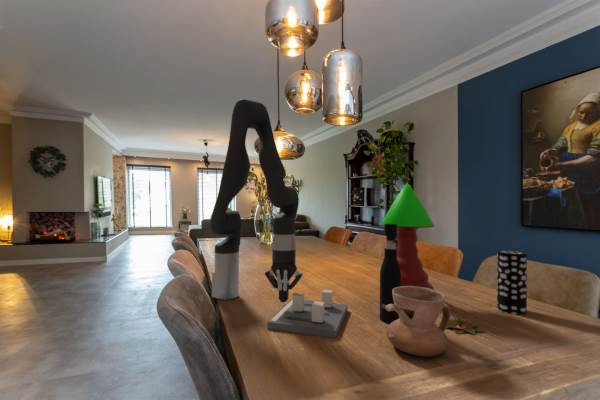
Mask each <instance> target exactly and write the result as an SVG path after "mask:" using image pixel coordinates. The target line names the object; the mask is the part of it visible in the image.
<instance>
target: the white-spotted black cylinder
mask: <svg viewBox="0 0 600 400" xmlns="http://www.w3.org/2000/svg"><path fill="white" fill-rule="evenodd" d="M496 252H497V253H496V261H497V262H496V265H497V266H496V273H497V274H496V292H497V293H496V303H497V304H496V306H497V307H496V309H497V308H498V309H499V310H498V309H497V310H498V311H500V312H503V313H506V314H510V313H511V314H510V315H516V314H519V315H518V316H520V315H521V316H523V315H522V314H524V315H526V314H527V312H528V311H527V307H528V306H527V303H528V302H527V301H528V300H527V299H528V298H527V297H528V296H527V295H528V294H527V293H528V292H527V290H528V289H527V287H528V285H527V284H528V283H527V282H528V281H527V278H528V277H527V276H528V274H527V272H528V271H527V268H528V267H527V261H528V260H527V258H528V257H527V253H526V252H524V251H517V250H505V249H504V250H497V251H496Z"/></svg>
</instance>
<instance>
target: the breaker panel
mask: <svg viewBox="0 0 600 400" xmlns="http://www.w3.org/2000/svg"><path fill="white" fill-rule="evenodd" d="M316 302H318V301H316ZM313 303H314V300H306V299H304V309H303V310H302V312H300V311H292V298H291V299H290V300H289V301H287V302H286V303H285V305H284V306H282V308H280V309H279V310H278V311H277V312H276V313H275V314H274V315H272V317H271V318H270V319H269V320H268V321H267V323H266V324H267V329H269V330H276V331H282V332H289V333H296V334H303V335H311V336H316V337H318V336H319V337H323V338H324V337H326V338H332V339H336V338H337V337H338V334H339V331H340V329H341V327H342V325H343V322H344V319H345V318H346V315H347V312H348V304H345V303H333V305H332V307H331V308H330V307H324V320H323V322H322V323H321V322H313V321H312V304H313Z"/></svg>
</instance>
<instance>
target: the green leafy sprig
mask: <svg viewBox="0 0 600 400" xmlns="http://www.w3.org/2000/svg"><path fill="white" fill-rule="evenodd" d="M461 315H462V312H461ZM465 315H466V313H464V314H463V315H462V317H461V316H460V315H459V311H458V312H457V313H456V312H454V313H453V315H452V318H453V319H451V318H450V320H449V323H448V325H447V327H446V329H448V328H452V330H453V331H454V333H456V334H457V335H458V334H463V333H466V332H468V333H470V334H471V335H474V336H476V332H480V333H481V332H482V333H485V330H482V329H481V328H479V327H478V325H477V324H474V323H473V322H470V321H469V319H468V317H469V316H470V315H466V316H465ZM438 322H439V323H441V320H440V321H438ZM458 326H459V327H458ZM463 327H464V328H463ZM461 328H462V330H461ZM458 329H459V330H458Z"/></svg>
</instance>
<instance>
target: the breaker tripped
mask: <svg viewBox="0 0 600 400" xmlns="http://www.w3.org/2000/svg"><path fill="white" fill-rule="evenodd" d="M291 299H292V311H300V312H302V310H303V309H304V300H305V292H304V291H293V293H292V298H291Z"/></svg>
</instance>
